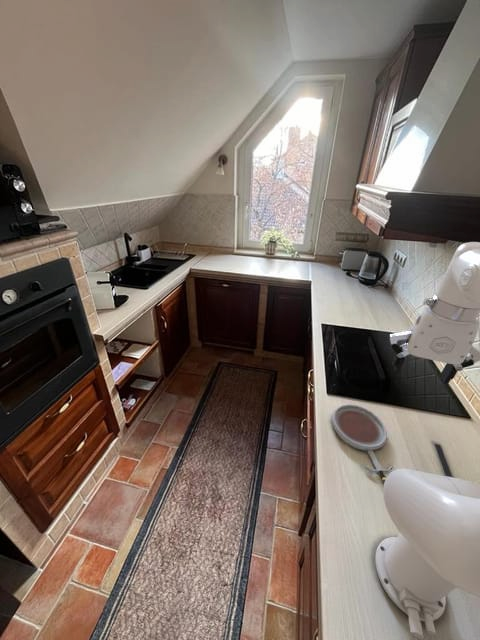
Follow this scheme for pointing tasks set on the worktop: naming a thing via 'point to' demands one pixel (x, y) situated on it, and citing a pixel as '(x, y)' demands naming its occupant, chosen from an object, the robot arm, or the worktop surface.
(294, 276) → the worktop surface
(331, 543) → the worktop surface
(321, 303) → the worktop surface
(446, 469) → the strip
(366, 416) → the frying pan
